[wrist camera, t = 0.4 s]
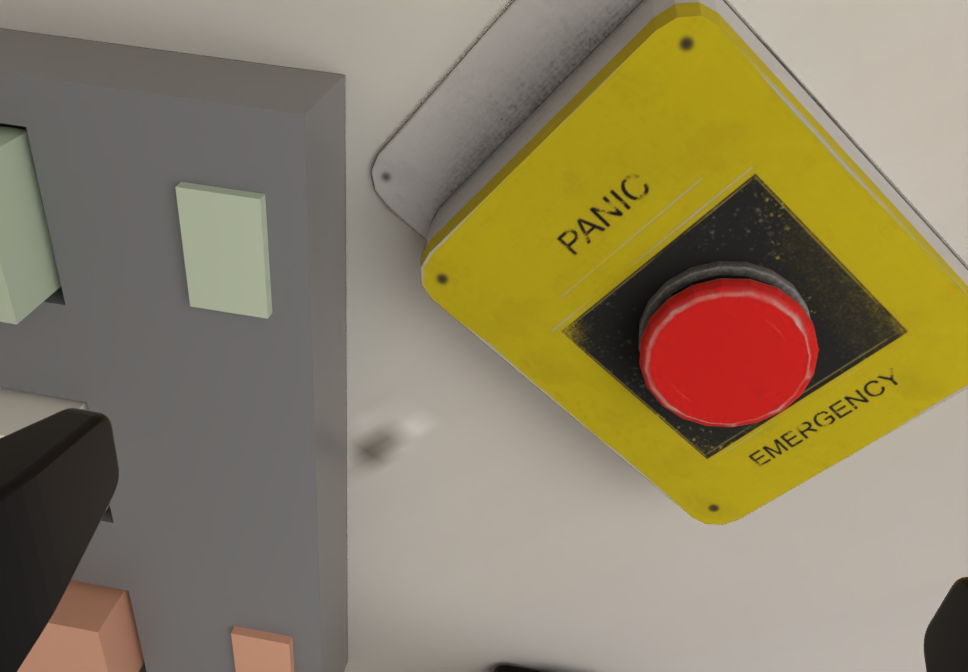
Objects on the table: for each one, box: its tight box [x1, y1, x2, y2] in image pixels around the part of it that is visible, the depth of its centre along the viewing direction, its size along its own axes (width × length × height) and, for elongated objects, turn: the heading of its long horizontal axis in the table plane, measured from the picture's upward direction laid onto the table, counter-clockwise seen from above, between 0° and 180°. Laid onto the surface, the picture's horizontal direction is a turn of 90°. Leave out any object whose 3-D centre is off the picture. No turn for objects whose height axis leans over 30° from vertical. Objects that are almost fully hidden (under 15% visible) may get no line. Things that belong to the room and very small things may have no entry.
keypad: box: [0, 29, 348, 672], centre depth 26 cm, size 23×14×3 cm, turn 175°
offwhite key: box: [0, 388, 110, 510], centre depth 25 cm, size 4×4×2 cm
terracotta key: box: [17, 580, 144, 672], centre depth 29 cm, size 4×4×2 cm
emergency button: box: [371, 0, 968, 525], centre depth 20 cm, size 9×4×15 cm
